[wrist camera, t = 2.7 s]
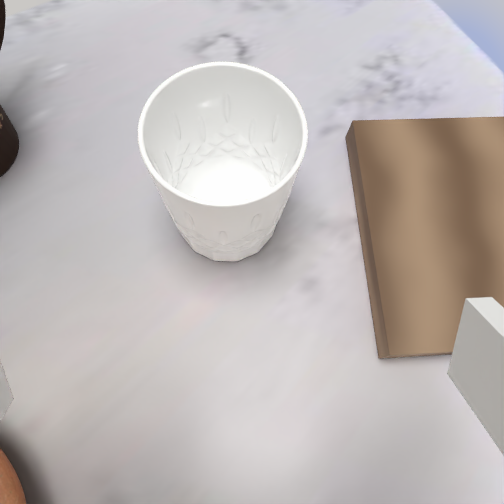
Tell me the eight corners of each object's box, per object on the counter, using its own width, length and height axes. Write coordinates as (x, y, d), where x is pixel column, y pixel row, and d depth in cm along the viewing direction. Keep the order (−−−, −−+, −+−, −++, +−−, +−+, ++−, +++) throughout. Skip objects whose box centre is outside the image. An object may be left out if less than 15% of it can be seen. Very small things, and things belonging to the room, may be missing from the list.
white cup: (283, 167, 30) (305, 63, 21) (285, 272, 28) (311, 208, 18) (173, 164, 30) (145, 57, 21) (165, 270, 28) (128, 203, 18)
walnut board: (378, 358, 26) (389, 355, 24) (345, 137, 31) (352, 120, 30) (564, 347, 27) (589, 344, 25) (501, 133, 32) (518, 116, 30)
